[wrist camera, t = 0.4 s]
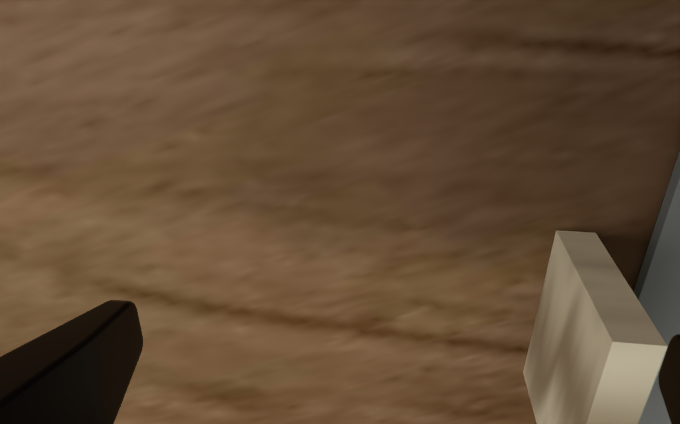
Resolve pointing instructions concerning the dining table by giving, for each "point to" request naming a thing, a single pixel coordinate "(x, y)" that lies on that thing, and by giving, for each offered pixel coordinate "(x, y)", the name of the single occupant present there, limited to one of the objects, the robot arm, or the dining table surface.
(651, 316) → the mat
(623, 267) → the dining table surface
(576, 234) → the tile
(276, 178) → the dining table surface
